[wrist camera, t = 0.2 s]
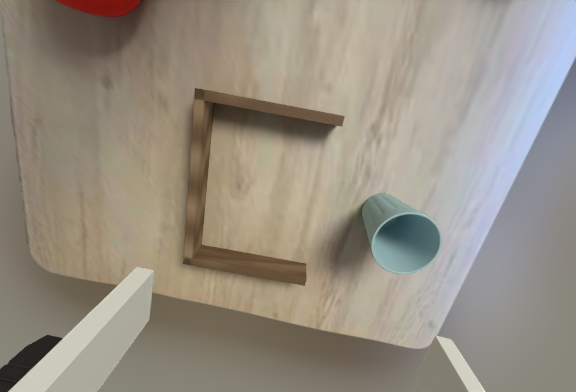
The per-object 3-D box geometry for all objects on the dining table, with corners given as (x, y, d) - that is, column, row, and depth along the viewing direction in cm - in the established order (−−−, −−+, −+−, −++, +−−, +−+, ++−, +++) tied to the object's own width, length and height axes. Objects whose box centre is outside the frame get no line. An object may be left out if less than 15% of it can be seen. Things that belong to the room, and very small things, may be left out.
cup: (347, 195, 40) (363, 224, 30) (400, 178, 39) (435, 203, 29) (361, 240, 42) (380, 281, 32) (411, 225, 41) (447, 263, 31)
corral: (206, 90, 36) (194, 88, 32) (339, 115, 36) (344, 116, 32) (193, 250, 44) (183, 263, 40) (304, 270, 44) (304, 285, 40)
